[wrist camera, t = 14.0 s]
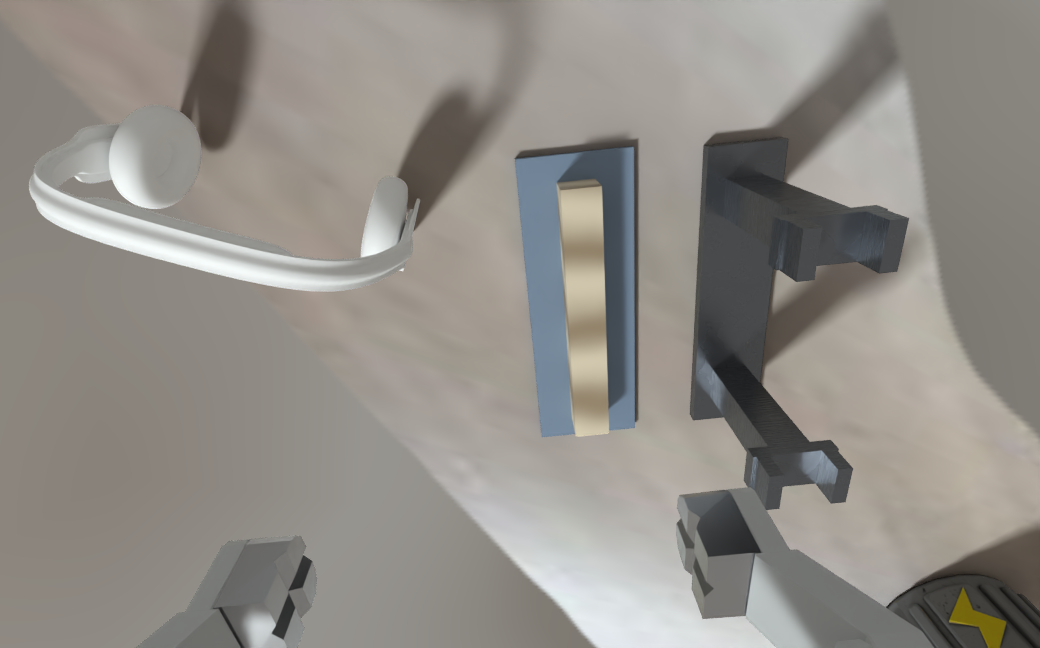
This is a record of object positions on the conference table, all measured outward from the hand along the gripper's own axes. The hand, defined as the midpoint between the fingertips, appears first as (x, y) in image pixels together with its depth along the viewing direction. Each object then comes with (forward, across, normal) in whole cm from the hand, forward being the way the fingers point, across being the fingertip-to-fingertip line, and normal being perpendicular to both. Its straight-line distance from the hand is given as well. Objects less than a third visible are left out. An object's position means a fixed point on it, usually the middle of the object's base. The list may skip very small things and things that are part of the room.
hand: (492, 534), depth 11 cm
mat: (+33, -6, +11) cm, 36 cm away
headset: (+34, +15, -2) cm, 37 cm away
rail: (+33, -6, +11) cm, 35 cm away
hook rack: (+33, -19, +11) cm, 40 cm away
